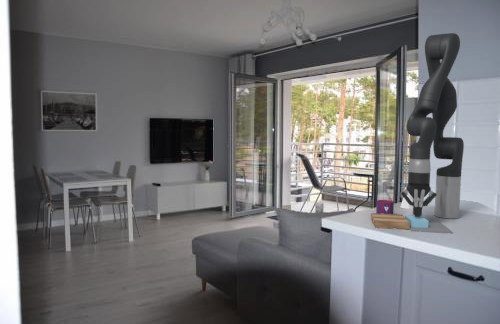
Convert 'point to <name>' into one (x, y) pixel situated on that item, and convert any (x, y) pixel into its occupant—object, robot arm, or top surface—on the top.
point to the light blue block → (417, 221)
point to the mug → (384, 207)
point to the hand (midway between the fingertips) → (417, 216)
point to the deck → (390, 221)
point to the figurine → (404, 202)
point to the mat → (433, 228)
